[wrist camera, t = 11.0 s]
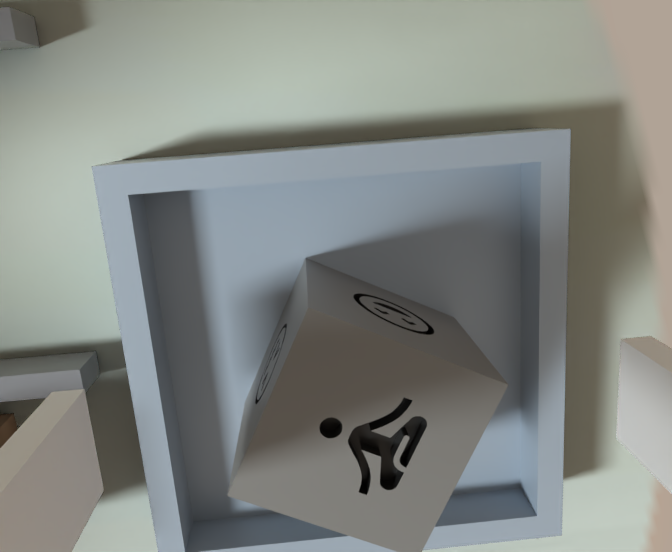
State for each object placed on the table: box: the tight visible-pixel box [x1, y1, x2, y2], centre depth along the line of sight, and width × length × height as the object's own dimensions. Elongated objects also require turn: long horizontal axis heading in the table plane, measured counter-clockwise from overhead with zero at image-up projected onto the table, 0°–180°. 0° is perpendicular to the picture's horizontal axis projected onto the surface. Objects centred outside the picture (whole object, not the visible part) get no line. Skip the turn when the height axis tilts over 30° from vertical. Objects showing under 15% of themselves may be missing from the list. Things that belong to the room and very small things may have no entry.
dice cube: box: [227, 258, 508, 552], centre depth 17 cm, size 5×5×5 cm
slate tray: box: [92, 128, 571, 552], centre depth 19 cm, size 13×13×2 cm
